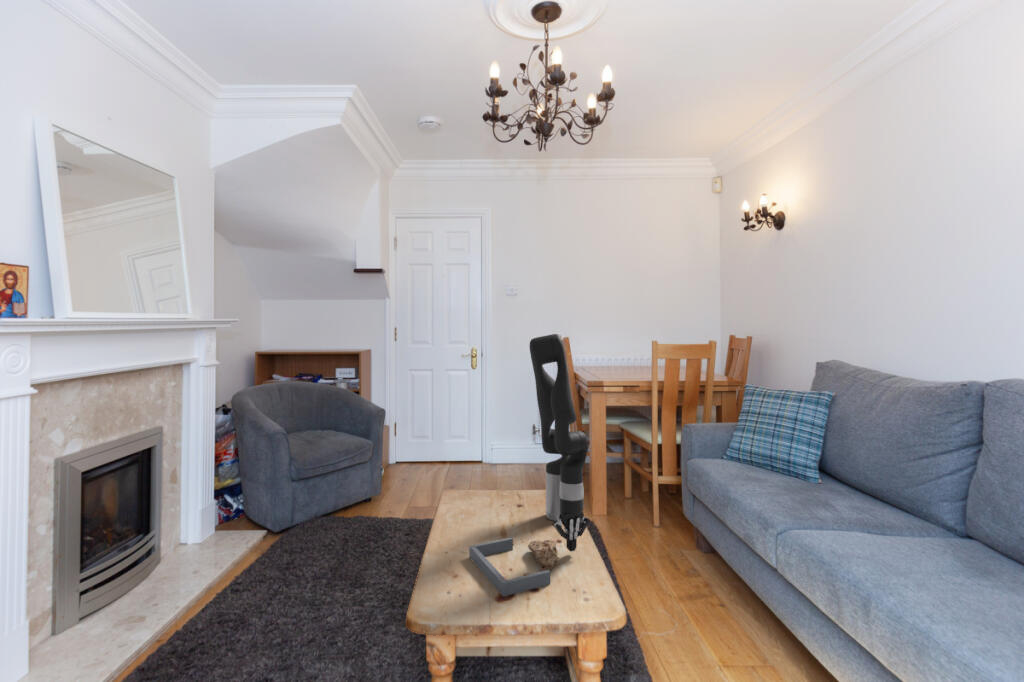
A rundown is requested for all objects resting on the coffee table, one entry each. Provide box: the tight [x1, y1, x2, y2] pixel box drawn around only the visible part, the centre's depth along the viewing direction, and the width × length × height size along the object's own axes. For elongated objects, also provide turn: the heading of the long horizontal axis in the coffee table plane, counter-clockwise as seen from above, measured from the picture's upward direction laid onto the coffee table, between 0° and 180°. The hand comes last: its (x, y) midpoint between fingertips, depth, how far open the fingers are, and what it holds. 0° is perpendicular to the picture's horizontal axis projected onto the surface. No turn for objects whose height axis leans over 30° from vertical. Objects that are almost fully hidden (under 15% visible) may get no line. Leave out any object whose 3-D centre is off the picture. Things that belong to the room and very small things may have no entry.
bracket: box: [468, 537, 551, 597], centre depth 141 cm, size 14×25×4 cm, turn 26°
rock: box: [527, 539, 561, 572], centre depth 147 cm, size 17×5×10 cm
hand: (571, 550), depth 151 cm, fingers closed
